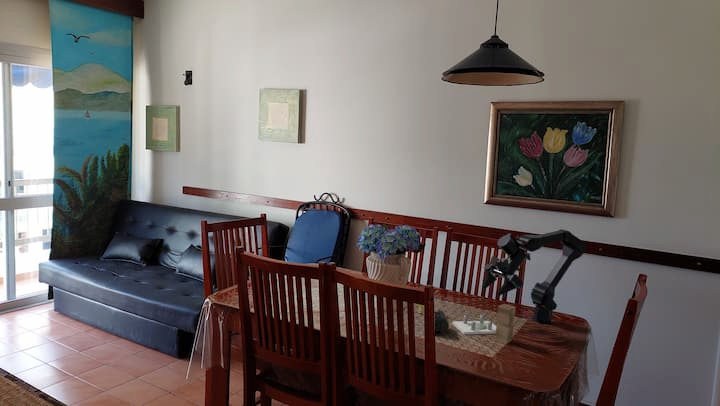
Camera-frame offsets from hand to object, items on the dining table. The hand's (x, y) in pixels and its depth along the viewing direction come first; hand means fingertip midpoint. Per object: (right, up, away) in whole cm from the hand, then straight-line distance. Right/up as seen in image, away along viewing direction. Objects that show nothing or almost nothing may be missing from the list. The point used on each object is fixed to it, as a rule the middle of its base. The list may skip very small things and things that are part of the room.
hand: (490, 291), depth 199 cm
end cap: (-22, -14, -7) cm, 27 cm away
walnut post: (+2, -16, -13) cm, 20 cm away
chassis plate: (-6, -14, -2) cm, 15 cm away
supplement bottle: (-24, -11, +13) cm, 30 cm away
